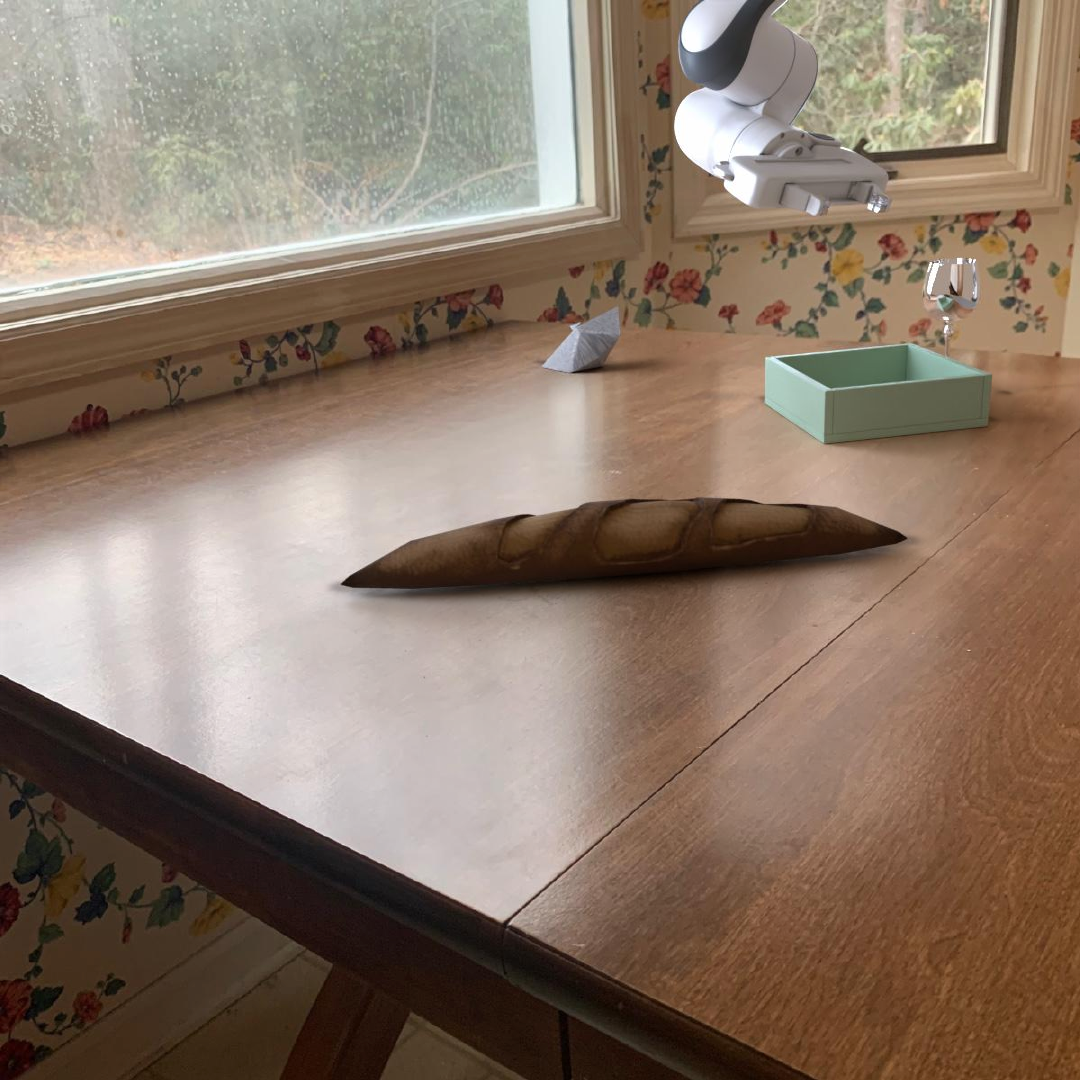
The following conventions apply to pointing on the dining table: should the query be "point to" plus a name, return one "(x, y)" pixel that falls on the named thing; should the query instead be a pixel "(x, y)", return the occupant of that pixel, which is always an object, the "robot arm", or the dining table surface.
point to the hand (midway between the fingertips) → (855, 207)
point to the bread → (623, 542)
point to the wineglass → (951, 292)
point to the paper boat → (587, 344)
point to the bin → (876, 392)
